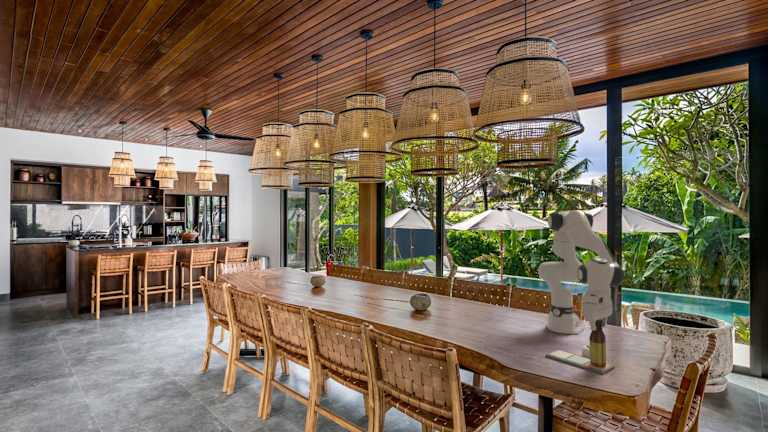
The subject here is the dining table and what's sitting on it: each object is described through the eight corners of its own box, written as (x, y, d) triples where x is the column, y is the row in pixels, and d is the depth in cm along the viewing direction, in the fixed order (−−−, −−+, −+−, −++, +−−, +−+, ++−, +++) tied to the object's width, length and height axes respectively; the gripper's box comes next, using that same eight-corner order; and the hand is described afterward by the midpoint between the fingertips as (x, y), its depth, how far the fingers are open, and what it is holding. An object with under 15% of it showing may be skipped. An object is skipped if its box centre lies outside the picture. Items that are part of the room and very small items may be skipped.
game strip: (558, 351, 187) (558, 348, 186) (614, 368, 167) (614, 365, 167) (545, 356, 179) (545, 354, 179) (602, 374, 159) (602, 371, 159)
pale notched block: (586, 355, 182) (586, 344, 182) (596, 357, 179) (596, 347, 179) (581, 357, 180) (582, 346, 180) (591, 360, 176) (592, 349, 176)
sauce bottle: (600, 362, 170) (601, 317, 170) (609, 367, 164) (610, 320, 164) (586, 362, 170) (586, 317, 170) (594, 367, 164) (595, 321, 164)
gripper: (601, 292, 175) (601, 322, 175) (580, 297, 163) (579, 330, 163) (616, 294, 170) (616, 325, 171) (596, 300, 158) (595, 334, 158)
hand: (598, 328), depth 167 cm, fingers open, 8 cm apart
